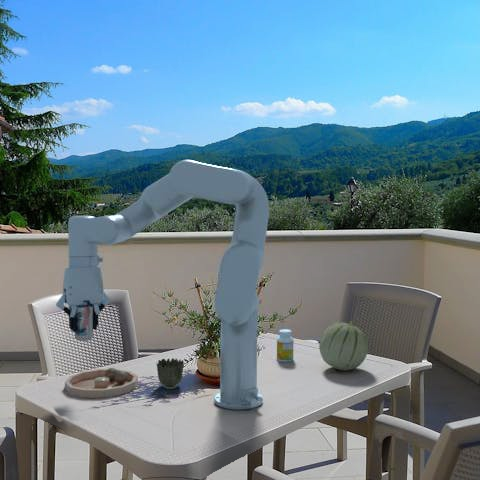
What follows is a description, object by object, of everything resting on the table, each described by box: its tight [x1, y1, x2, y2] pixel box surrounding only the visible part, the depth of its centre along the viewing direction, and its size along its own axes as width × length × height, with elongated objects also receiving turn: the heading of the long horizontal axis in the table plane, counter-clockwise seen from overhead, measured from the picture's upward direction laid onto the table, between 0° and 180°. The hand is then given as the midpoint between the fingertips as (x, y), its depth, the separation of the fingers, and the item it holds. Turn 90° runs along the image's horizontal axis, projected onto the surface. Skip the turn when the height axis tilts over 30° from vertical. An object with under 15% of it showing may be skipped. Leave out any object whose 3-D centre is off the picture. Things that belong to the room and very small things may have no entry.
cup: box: [155, 357, 185, 390], centre depth 168 cm, size 8×7×8 cm
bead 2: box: [114, 371, 127, 384], centre depth 170 cm, size 4×4×4 cm
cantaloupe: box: [318, 320, 369, 372], centre depth 187 cm, size 15×15×15 cm
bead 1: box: [105, 367, 117, 381], centre depth 173 cm, size 4×4×4 cm
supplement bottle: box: [276, 328, 294, 363], centre depth 198 cm, size 5×5×10 cm
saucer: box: [64, 368, 139, 399], centre depth 168 cm, size 19×19×3 cm
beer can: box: [74, 299, 94, 342], centre depth 163 cm, size 5×5×12 cm
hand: (83, 329), depth 163 cm, fingers closed on beer can, 4 cm apart
